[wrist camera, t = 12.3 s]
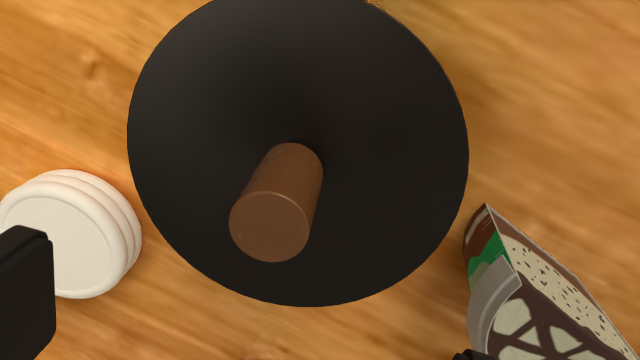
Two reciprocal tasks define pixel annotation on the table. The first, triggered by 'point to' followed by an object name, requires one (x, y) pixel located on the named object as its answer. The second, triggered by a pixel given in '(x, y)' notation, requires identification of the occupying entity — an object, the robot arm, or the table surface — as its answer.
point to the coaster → (78, 228)
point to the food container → (530, 300)
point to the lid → (298, 148)
